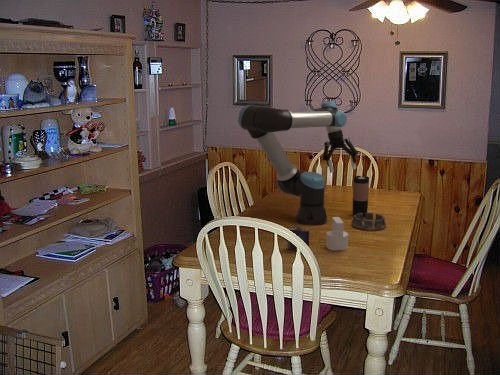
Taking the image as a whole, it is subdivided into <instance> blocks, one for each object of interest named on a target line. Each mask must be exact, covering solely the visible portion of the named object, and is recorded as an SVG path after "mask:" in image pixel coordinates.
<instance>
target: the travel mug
mask: <svg viewBox="0 0 500 375" xmlns="http://www.w3.org/2000/svg"><path fill="white" fill-rule="evenodd" d="M369 189H370V177H369V176H367V175H364V176H361V175H355V176H353V187H352V217H354V215H356V214H357V213H363V218H365V217H366V213H368V208H369V207H368V206H369V193H370V192H369Z"/></svg>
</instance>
